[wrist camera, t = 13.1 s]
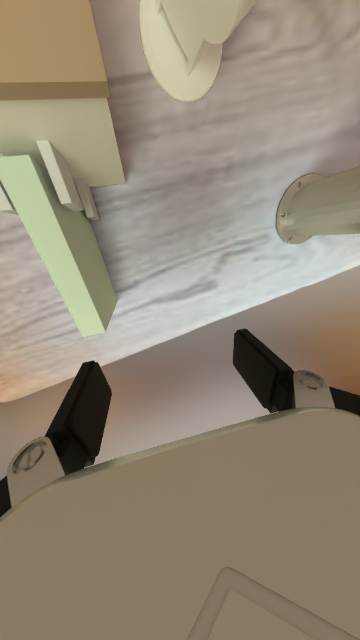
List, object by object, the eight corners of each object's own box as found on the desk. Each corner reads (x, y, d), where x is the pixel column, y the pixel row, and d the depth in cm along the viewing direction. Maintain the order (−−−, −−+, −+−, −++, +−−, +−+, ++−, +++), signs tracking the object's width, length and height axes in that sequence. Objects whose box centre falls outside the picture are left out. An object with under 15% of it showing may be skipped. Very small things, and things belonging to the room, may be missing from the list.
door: (81, 197, 26) (28, 154, 13) (117, 299, 34) (105, 331, 22) (54, 200, 25) (-28, 159, 13) (97, 304, 33) (73, 339, 21)
